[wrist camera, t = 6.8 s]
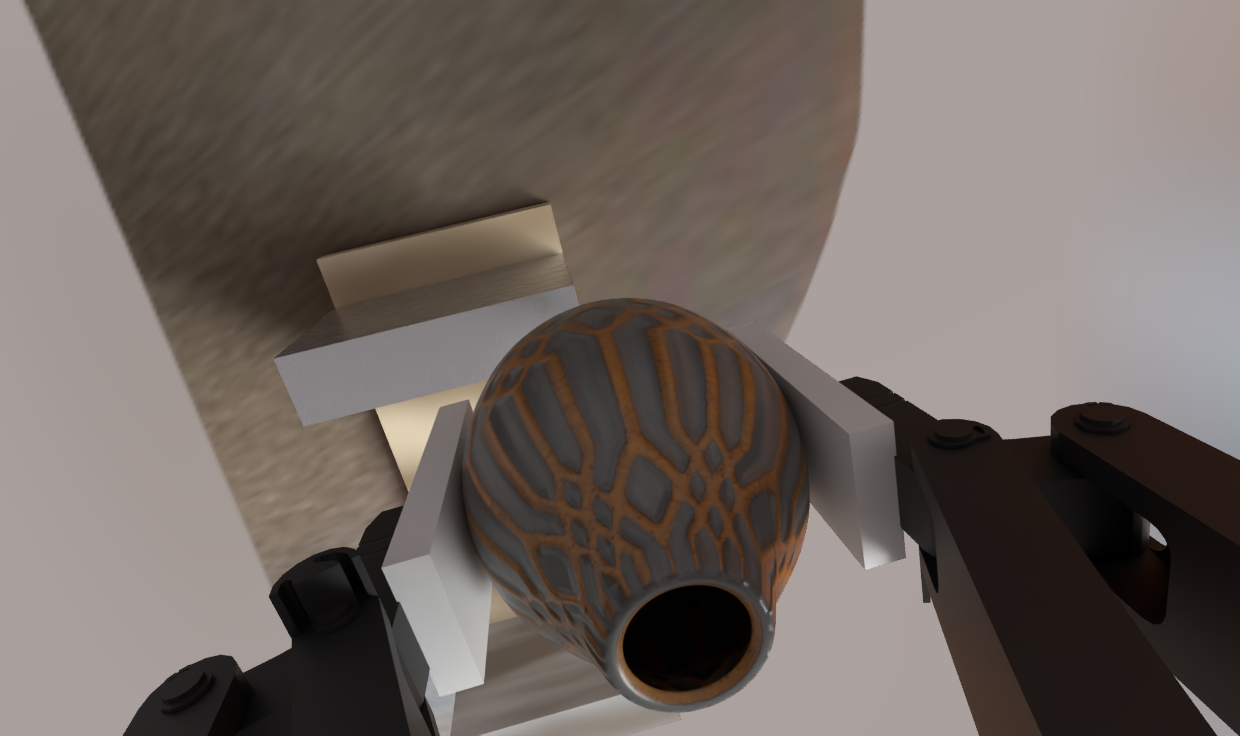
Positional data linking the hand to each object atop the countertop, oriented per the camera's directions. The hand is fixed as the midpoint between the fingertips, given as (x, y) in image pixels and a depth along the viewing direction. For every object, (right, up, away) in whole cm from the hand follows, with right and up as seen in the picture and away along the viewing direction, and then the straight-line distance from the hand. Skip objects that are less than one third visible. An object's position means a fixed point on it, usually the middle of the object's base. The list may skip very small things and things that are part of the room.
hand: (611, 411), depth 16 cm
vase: (0, 0, 0) cm, 1 cm away
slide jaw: (-8, +4, +16) cm, 19 cm away
